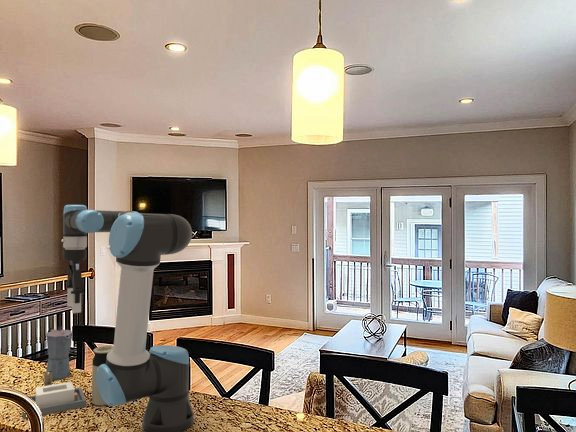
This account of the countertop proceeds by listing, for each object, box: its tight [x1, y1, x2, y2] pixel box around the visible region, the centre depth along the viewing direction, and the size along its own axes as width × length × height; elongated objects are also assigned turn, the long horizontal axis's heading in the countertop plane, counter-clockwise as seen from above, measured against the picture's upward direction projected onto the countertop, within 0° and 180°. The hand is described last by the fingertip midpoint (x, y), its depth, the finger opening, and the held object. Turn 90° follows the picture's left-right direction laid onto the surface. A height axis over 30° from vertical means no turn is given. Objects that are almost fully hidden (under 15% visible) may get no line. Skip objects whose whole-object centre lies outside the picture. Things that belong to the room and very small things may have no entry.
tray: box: [22, 387, 87, 419], centre depth 149 cm, size 13×18×2 cm
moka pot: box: [45, 325, 73, 381], centre depth 176 cm, size 10×15×20 cm, turn 60°
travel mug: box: [91, 345, 114, 407], centre depth 152 cm, size 8×8×18 cm
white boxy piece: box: [34, 381, 77, 408], centre depth 149 cm, size 12×8×5 cm, turn 122°
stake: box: [43, 371, 53, 386], centre depth 160 cm, size 3×3×7 cm
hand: (74, 309), depth 156 cm, fingers open, 13 cm apart
